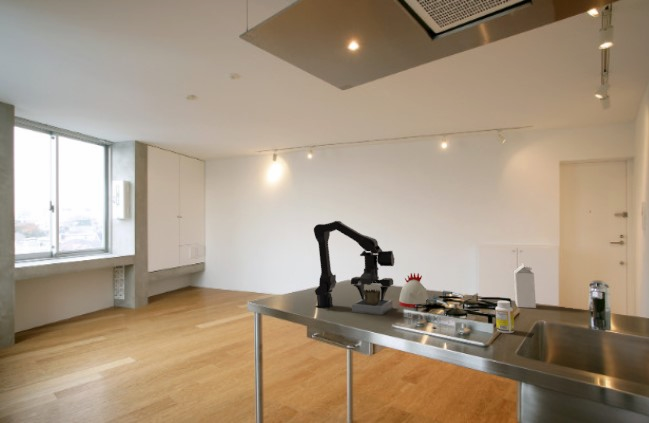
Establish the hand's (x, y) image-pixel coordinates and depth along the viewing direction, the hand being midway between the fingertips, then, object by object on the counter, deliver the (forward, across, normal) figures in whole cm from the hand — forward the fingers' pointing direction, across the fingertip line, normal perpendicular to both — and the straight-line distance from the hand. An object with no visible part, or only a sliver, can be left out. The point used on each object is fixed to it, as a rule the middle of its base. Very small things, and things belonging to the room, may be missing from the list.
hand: (372, 300), depth 158 cm
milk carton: (+4, +60, +31) cm, 68 cm away
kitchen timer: (+5, +14, +18) cm, 23 cm away
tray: (+4, 0, 0) cm, 4 cm away
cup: (+4, 0, 0) cm, 4 cm away
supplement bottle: (+4, +54, -12) cm, 55 cm away
